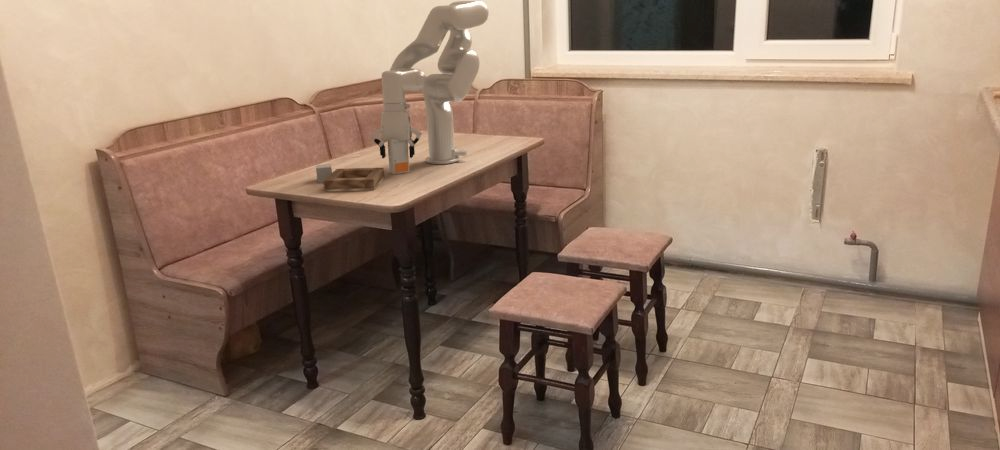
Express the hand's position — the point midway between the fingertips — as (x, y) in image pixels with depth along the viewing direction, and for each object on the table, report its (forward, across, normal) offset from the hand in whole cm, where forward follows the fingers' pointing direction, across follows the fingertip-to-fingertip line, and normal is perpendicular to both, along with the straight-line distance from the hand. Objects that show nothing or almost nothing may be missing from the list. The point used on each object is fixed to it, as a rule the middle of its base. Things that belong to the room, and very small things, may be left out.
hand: (397, 157), depth 263 cm
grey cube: (+6, +24, +8) cm, 26 cm away
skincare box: (+6, 0, 0) cm, 6 cm away
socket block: (+6, +12, +16) cm, 20 cm away
